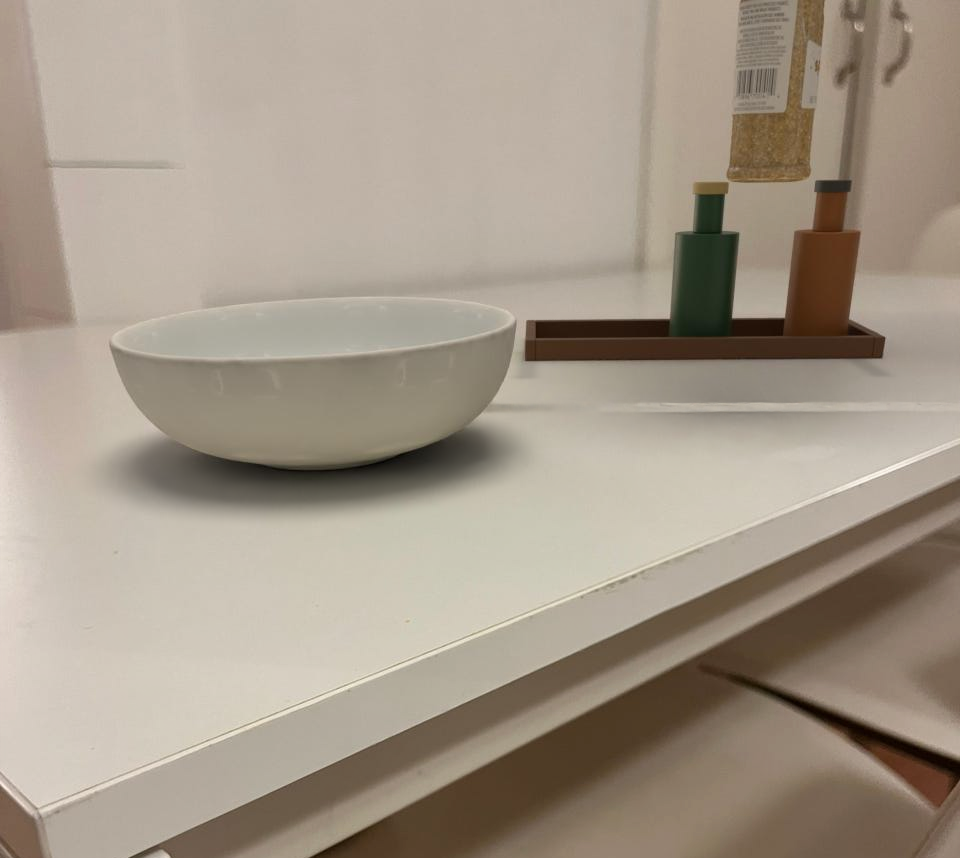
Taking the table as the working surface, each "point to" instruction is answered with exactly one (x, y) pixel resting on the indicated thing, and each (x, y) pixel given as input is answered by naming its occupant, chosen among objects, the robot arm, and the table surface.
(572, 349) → the tray
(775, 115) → the sprinkles bottle
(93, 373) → the table surface
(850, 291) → the amber bottle
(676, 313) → the green bottle
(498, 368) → the serving bowl
